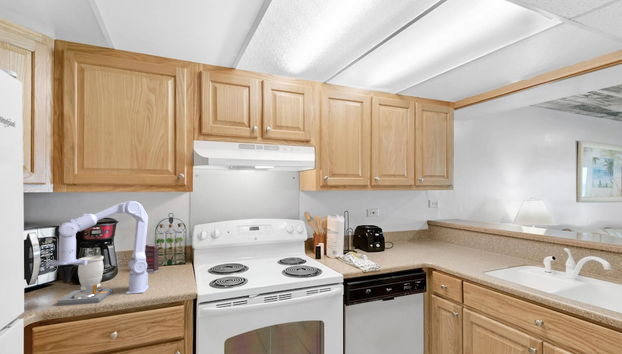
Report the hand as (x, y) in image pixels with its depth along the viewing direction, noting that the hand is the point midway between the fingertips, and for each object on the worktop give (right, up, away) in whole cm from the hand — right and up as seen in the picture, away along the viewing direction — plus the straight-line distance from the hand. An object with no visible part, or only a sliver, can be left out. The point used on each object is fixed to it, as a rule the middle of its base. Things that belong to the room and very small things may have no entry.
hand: (66, 282), depth 128 cm
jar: (-7, -11, +23) cm, 26 cm away
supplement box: (+8, -12, +50) cm, 52 cm away
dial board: (+2, -10, +8) cm, 13 cm away
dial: (+2, -9, +8) cm, 12 cm away
